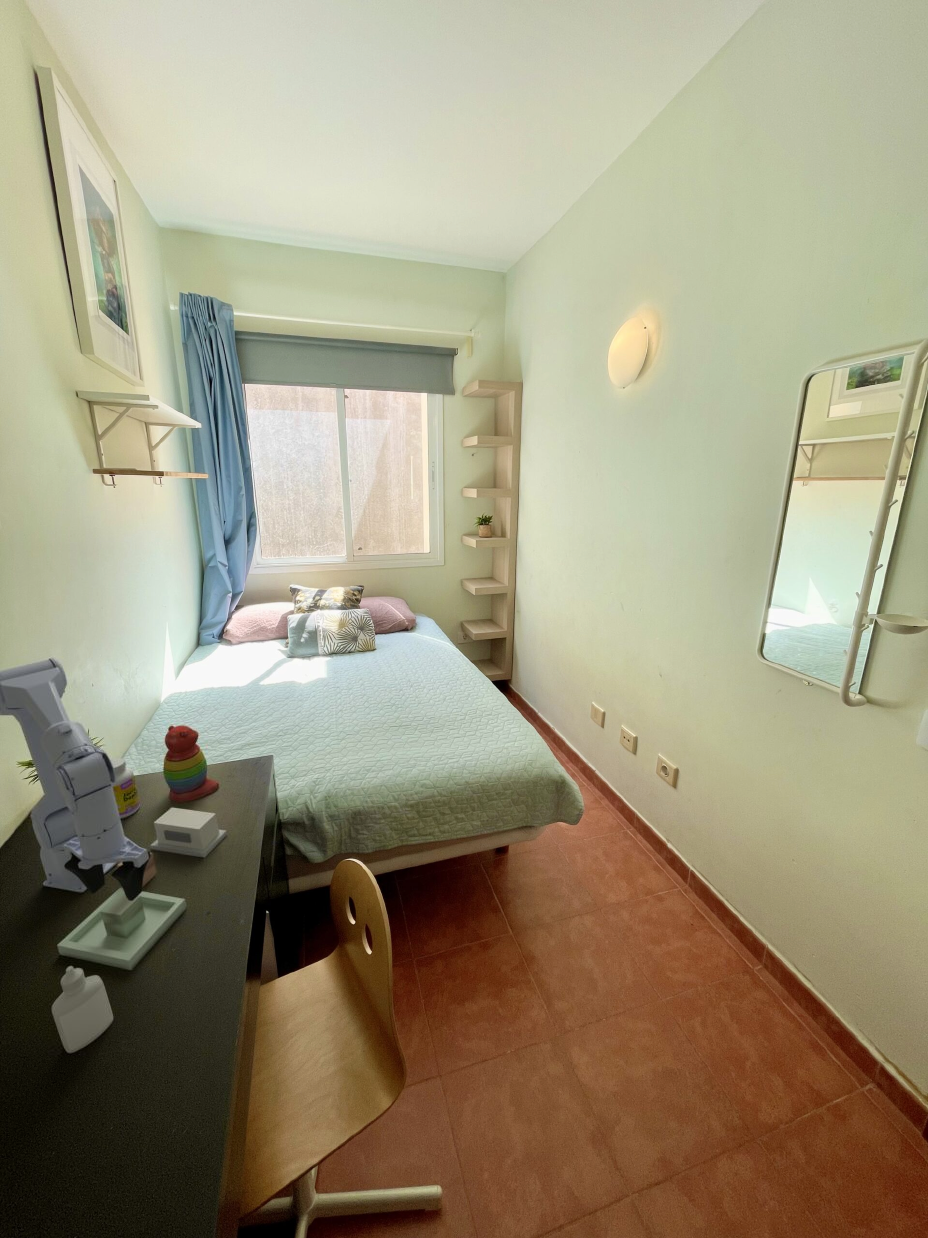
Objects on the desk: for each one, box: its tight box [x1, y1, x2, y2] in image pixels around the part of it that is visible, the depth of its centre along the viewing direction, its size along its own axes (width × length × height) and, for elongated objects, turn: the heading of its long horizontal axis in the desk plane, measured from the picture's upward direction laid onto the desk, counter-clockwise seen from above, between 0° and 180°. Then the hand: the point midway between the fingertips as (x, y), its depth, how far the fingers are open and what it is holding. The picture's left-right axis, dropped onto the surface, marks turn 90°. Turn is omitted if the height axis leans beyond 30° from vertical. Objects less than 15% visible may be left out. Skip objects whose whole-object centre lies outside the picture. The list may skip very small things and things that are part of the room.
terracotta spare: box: [116, 852, 158, 888], centre depth 95 cm, size 4×4×5 cm
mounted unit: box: [150, 807, 228, 858], centre depth 105 cm, size 13×7×6 cm, turn 78°
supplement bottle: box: [110, 757, 141, 820], centre depth 114 cm, size 7×7×13 cm
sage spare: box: [100, 892, 146, 939], centre depth 85 cm, size 4×4×5 cm
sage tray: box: [57, 887, 187, 971], centre depth 85 cm, size 14×12×2 cm
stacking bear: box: [162, 724, 220, 803], centre depth 121 cm, size 11×10×18 cm
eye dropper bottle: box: [51, 965, 114, 1054], centre depth 68 cm, size 4×6×12 cm
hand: (116, 892), depth 83 cm, fingers open, 7 cm apart
